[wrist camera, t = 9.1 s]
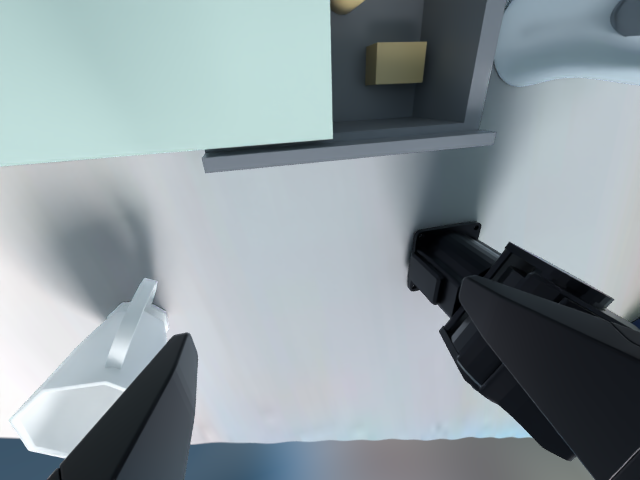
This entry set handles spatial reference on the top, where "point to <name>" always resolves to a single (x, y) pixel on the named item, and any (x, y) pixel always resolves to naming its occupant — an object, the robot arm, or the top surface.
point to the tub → (395, 83)
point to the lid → (160, 76)
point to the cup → (93, 376)
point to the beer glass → (569, 41)
